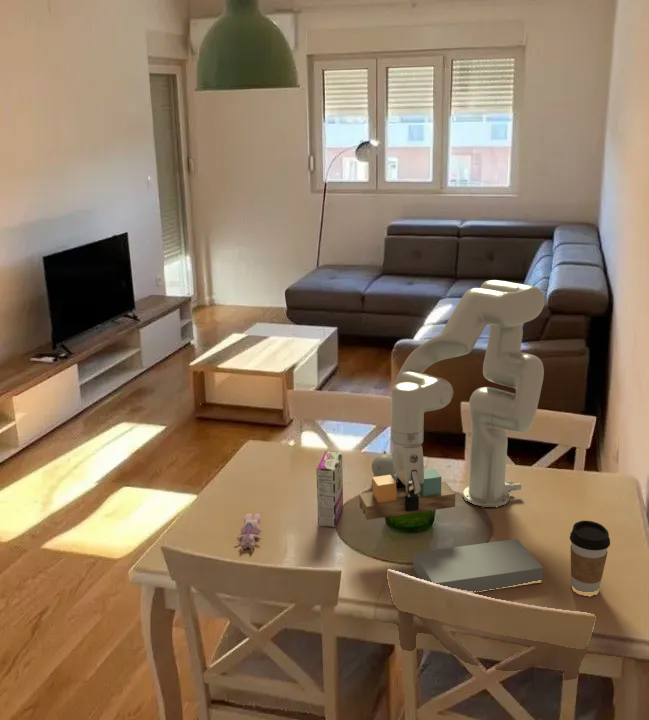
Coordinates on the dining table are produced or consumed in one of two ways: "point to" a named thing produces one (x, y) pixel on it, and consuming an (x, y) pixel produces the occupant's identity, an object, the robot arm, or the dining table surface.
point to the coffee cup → (588, 555)
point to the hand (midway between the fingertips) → (406, 502)
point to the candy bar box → (330, 489)
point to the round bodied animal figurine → (383, 465)
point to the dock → (479, 566)
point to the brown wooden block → (398, 505)
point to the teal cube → (431, 483)
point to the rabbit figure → (250, 531)
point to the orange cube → (384, 488)
